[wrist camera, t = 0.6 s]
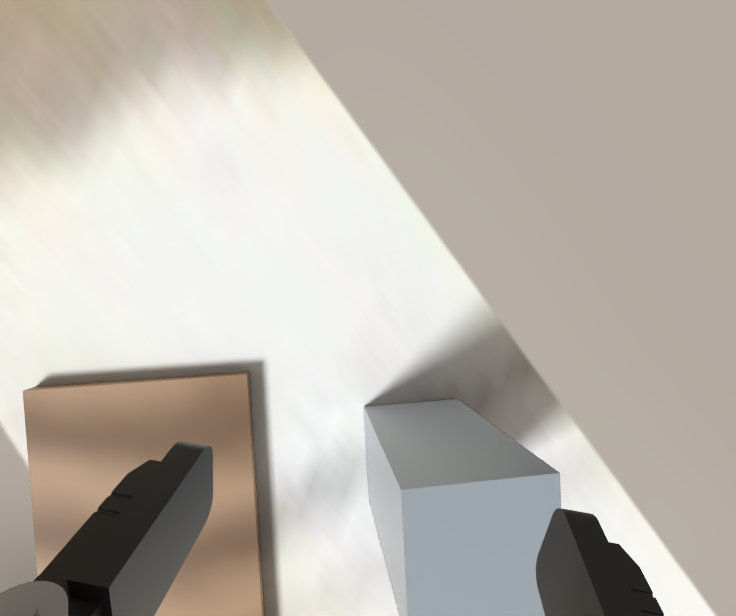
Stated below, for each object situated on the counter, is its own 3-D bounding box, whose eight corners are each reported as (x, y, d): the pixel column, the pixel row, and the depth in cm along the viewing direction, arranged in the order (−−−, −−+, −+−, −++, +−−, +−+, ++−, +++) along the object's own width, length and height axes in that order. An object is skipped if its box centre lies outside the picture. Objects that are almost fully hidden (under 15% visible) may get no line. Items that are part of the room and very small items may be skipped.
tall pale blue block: (363, 406, 28) (400, 489, 16) (457, 398, 28) (559, 473, 17) (368, 501, 28) (409, 654, 16) (461, 491, 29) (565, 630, 17)
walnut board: (34, 387, 25) (22, 390, 24) (249, 371, 27) (246, 374, 26) (58, 692, 26) (48, 708, 25) (267, 661, 27) (265, 675, 26)
